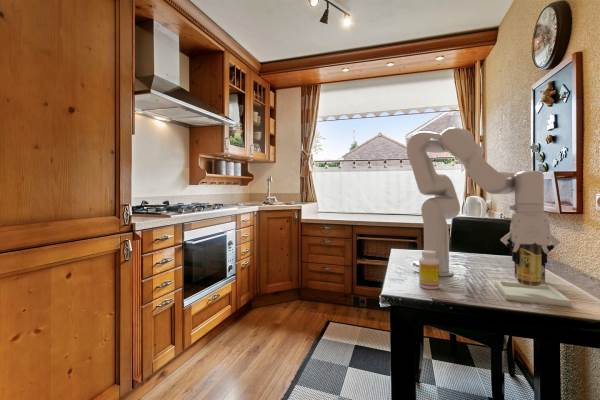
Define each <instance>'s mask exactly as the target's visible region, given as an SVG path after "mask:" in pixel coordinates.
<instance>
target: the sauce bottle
mask: <svg viewBox="0 0 600 400" xmlns="http://www.w3.org/2000/svg"><path fill="white" fill-rule="evenodd" d="M541 250H542V246H541V245H537V244H536V243H534V244H529V245H521V244H520V246H519V248H518V252H519V264H517V277H518V278H517V282H519V283H521V284H524V285H528V286H539V285H540V284H541V282H540V281H541V265H542V254H541Z"/></svg>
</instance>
